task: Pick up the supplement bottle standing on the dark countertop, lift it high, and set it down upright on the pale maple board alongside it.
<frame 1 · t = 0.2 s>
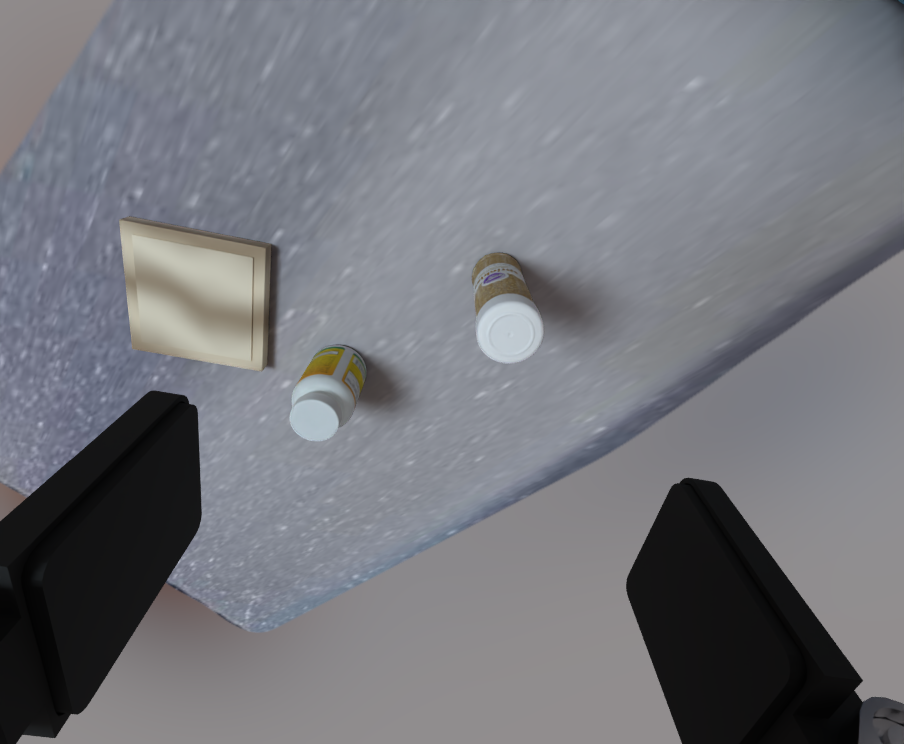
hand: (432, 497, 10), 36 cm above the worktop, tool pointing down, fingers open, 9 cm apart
supplement bottle: (339, 367, 50), on the worktop
maple board: (203, 295, 46), on the worktop
sprinkles bottle: (496, 276, 45), on the worktop
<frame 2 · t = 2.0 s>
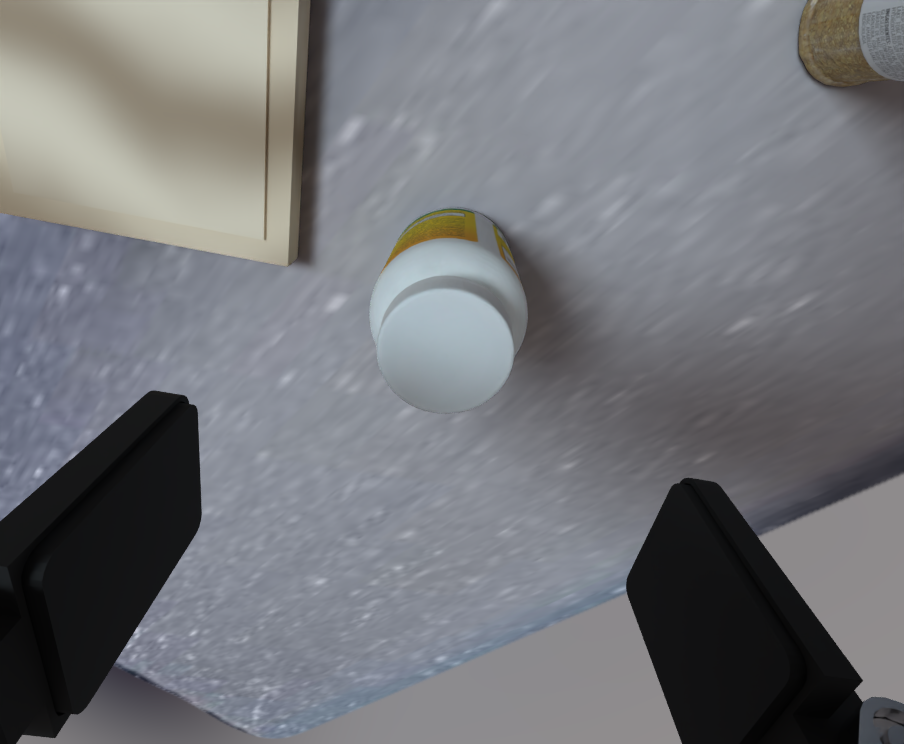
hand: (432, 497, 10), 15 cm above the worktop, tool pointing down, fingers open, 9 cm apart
supplement bottle: (451, 264, 23), on the worktop
maple board: (152, 81, 20), on the worktop
sprinkles bottle: (851, 20, 19), on the worktop
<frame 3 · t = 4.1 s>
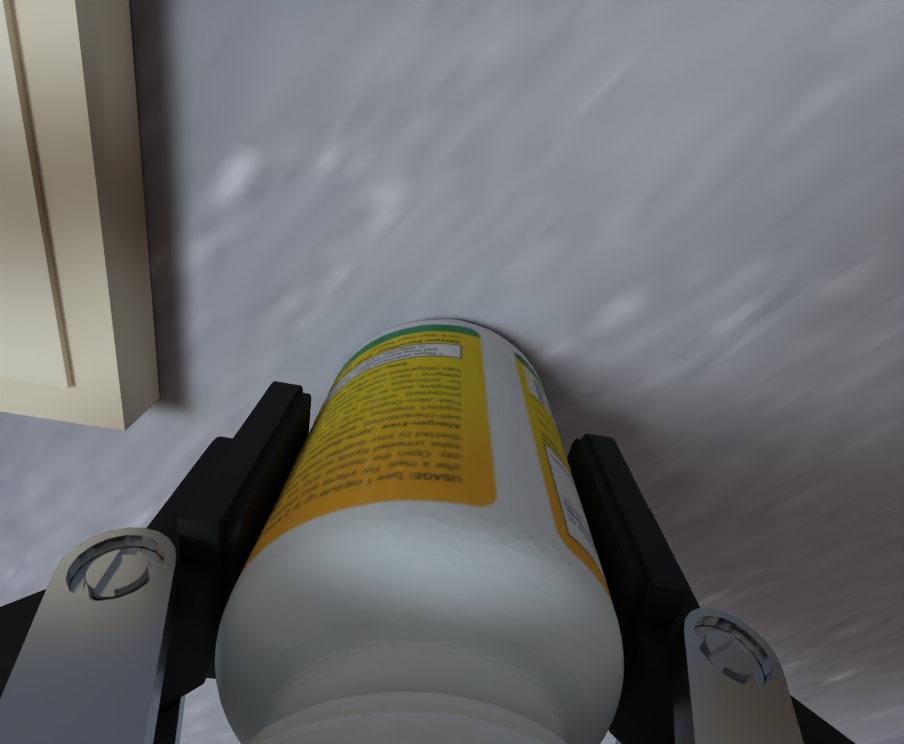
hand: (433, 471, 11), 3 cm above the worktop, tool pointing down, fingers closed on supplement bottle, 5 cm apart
supplement bottle: (437, 406, 13), on the worktop, touching gripper
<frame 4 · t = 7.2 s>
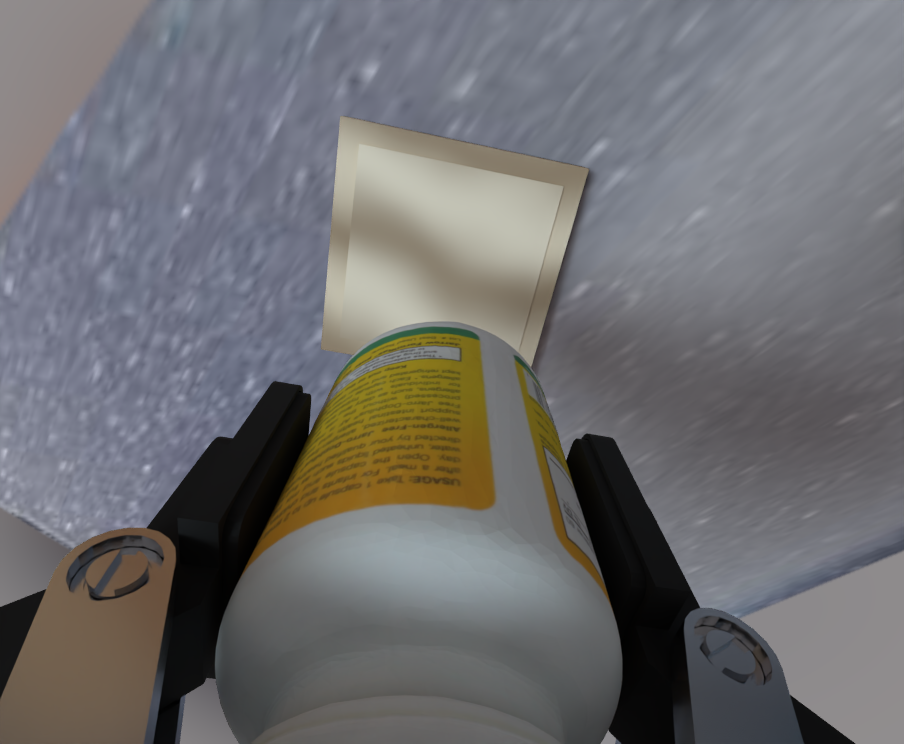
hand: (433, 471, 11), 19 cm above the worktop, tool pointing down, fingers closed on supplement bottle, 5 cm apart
supplement bottle: (437, 408, 13), point 16 cm above the worktop, touching gripper
maple board: (444, 259, 28), on the worktop
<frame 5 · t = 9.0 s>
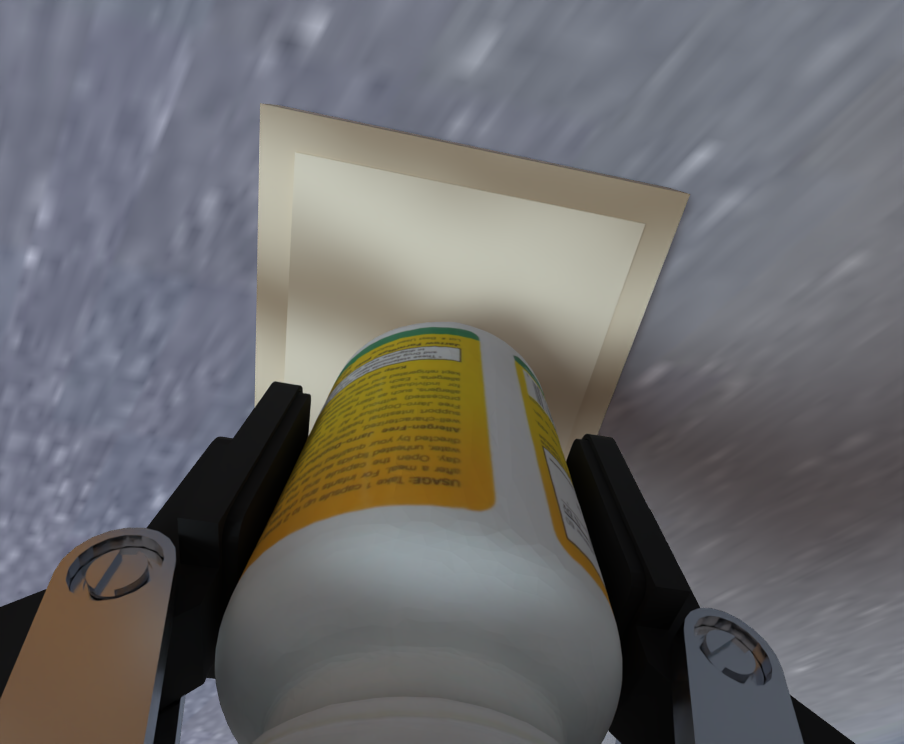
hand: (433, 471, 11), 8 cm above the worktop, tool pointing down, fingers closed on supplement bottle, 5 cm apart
supplement bottle: (437, 408, 13), point 5 cm above the worktop, touching gripper
maple board: (443, 330, 18), on the worktop
when the fingers open (5 cm above the worktop, at t = 10.5 s): supplement bottle stays where it is, resting on maple board.
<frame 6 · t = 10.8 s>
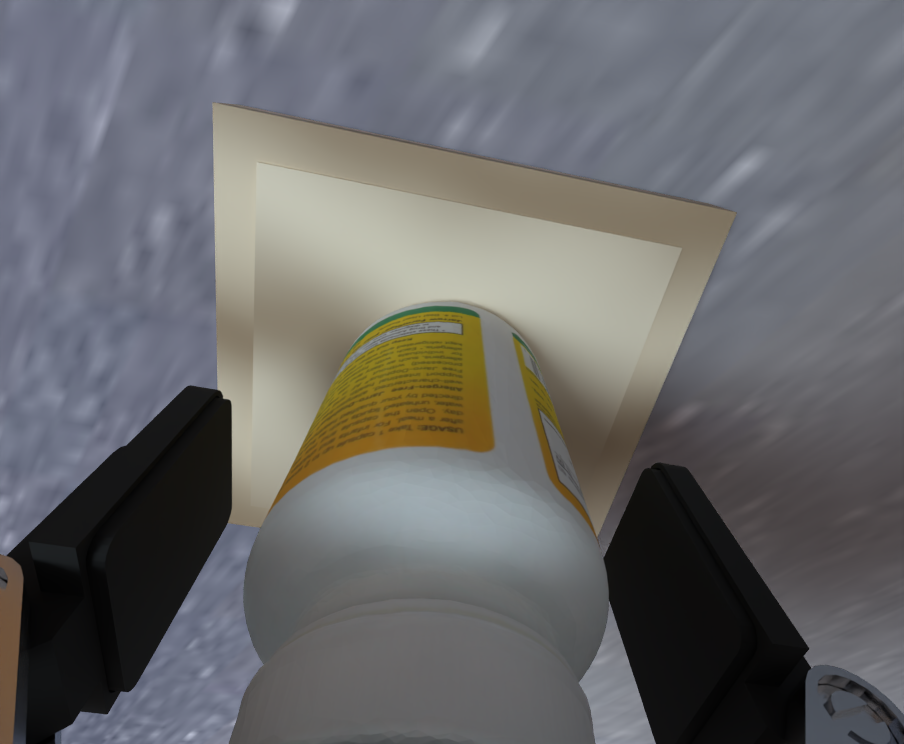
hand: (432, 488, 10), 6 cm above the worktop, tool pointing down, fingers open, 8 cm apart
supplement bottle: (439, 386, 14), point 1 cm above the worktop, touching maple board
maple board: (439, 367, 15), on the worktop
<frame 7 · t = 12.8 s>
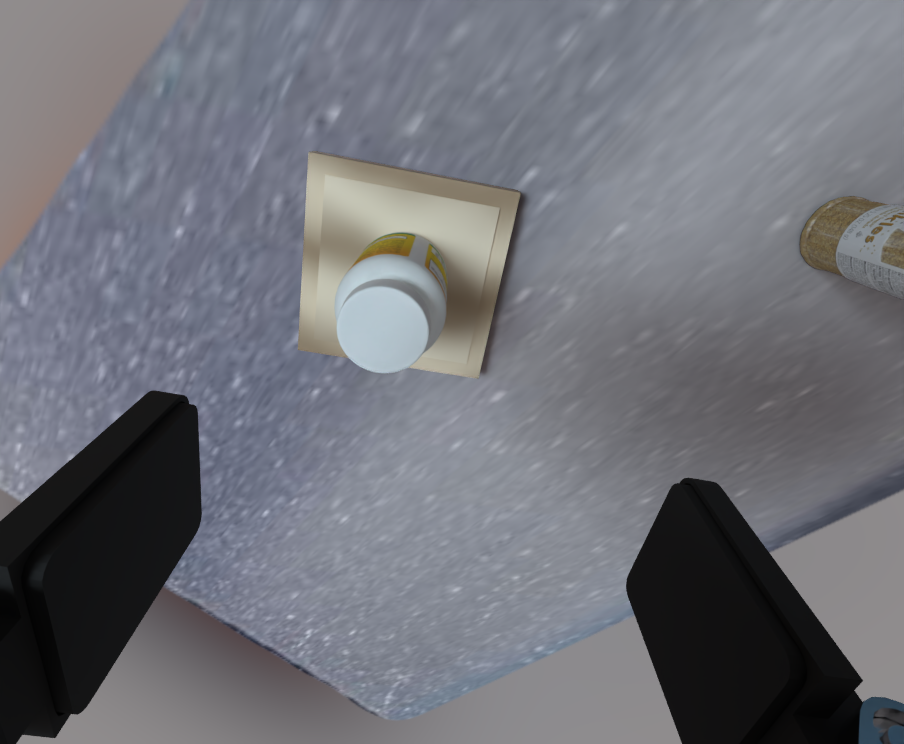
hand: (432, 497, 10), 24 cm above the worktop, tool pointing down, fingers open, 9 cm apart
supplement bottle: (402, 274, 31), point 1 cm above the worktop, touching maple board
maple board: (403, 270, 32), on the worktop
sprinkles bottle: (831, 233, 31), on the worktop
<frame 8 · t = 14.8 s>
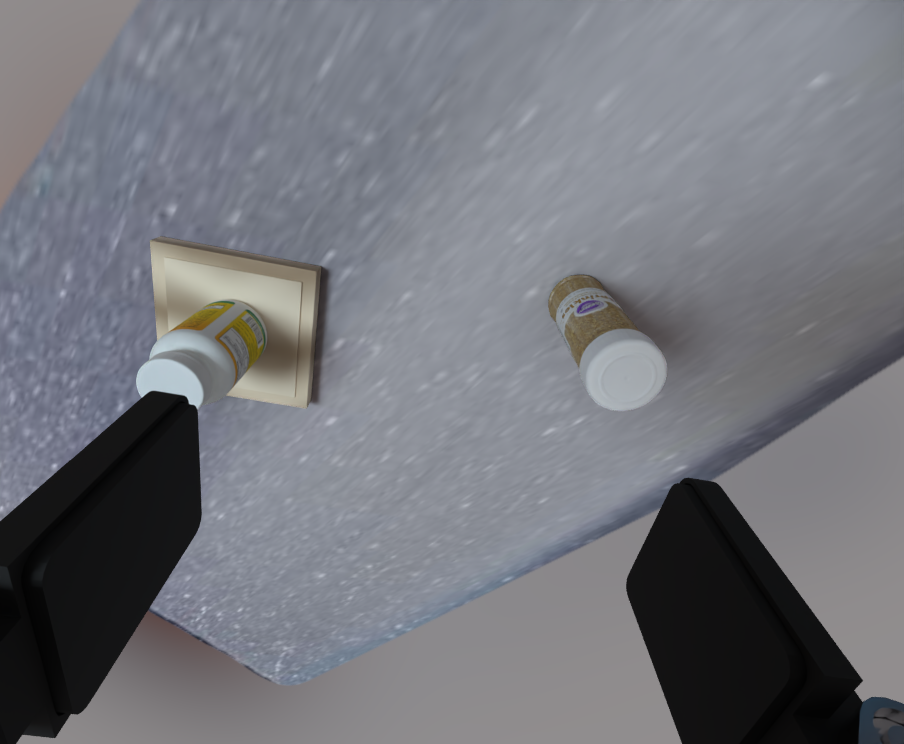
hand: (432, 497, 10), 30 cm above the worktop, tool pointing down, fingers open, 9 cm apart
supplement bottle: (234, 329, 39), point 1 cm above the worktop, touching maple board
maple board: (241, 324, 41), on the worktop
sprinkles bottle: (574, 300, 40), on the worktop
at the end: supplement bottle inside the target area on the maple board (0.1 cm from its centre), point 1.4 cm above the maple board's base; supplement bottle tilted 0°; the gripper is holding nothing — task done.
